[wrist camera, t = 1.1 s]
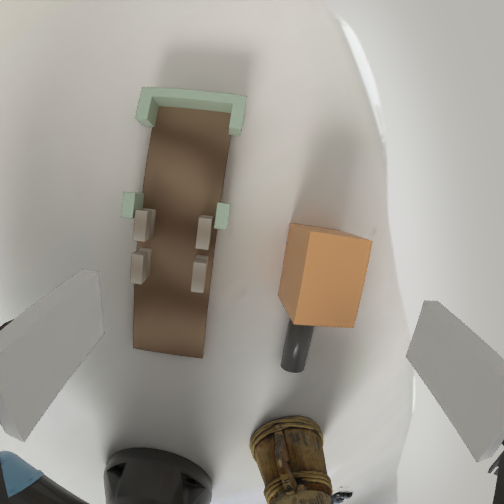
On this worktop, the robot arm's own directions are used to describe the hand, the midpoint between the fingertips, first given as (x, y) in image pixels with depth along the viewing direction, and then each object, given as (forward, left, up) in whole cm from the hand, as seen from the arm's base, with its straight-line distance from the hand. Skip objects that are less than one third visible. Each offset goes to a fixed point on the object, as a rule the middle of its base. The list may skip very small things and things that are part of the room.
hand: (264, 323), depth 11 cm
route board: (+1, +6, -18) cm, 18 cm away
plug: (-4, -7, -18) cm, 19 cm away
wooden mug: (-21, -8, -18) cm, 29 cm away
